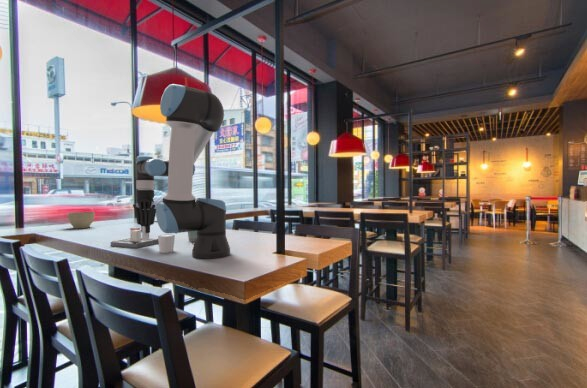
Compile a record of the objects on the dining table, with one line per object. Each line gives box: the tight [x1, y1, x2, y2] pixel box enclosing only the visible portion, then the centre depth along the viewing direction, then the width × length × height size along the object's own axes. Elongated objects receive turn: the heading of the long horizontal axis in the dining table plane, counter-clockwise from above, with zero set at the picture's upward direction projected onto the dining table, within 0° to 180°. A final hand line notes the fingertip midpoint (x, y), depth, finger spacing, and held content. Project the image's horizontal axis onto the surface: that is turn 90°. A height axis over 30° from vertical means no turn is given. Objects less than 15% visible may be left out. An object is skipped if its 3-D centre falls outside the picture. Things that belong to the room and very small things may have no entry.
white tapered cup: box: [157, 233, 176, 254], centre depth 131 cm, size 7×7×7 cm
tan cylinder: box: [129, 227, 141, 232], centre depth 152 cm, size 3×3×5 cm
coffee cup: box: [187, 231, 197, 243], centre depth 157 cm, size 8×8×12 cm
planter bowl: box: [66, 211, 96, 229], centre depth 214 cm, size 16×16×11 cm
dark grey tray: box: [110, 237, 159, 249], centre depth 147 cm, size 16×14×2 cm
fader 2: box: [130, 229, 142, 242], centre depth 143 cm, size 3×3×5 cm
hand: (145, 239), depth 141 cm, fingers closed
